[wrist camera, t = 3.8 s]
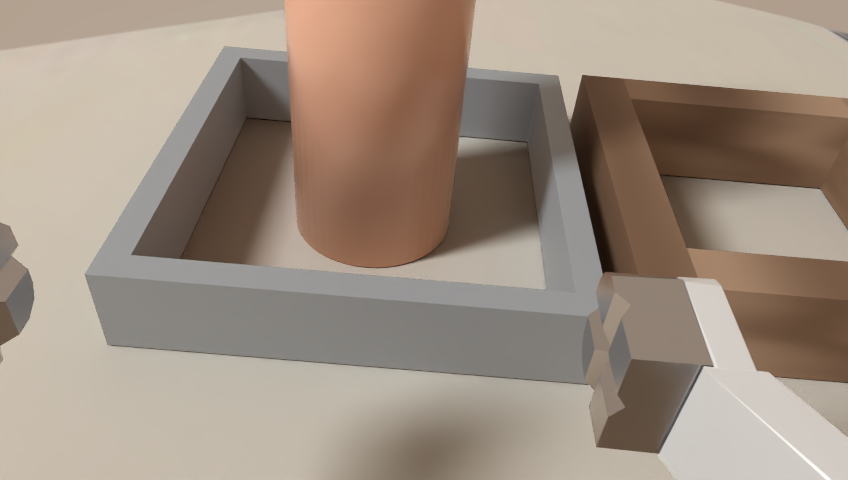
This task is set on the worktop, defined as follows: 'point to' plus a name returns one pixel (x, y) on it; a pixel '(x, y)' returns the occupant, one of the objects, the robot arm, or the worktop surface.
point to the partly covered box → (725, 160)
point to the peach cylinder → (376, 123)
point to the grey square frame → (344, 292)
